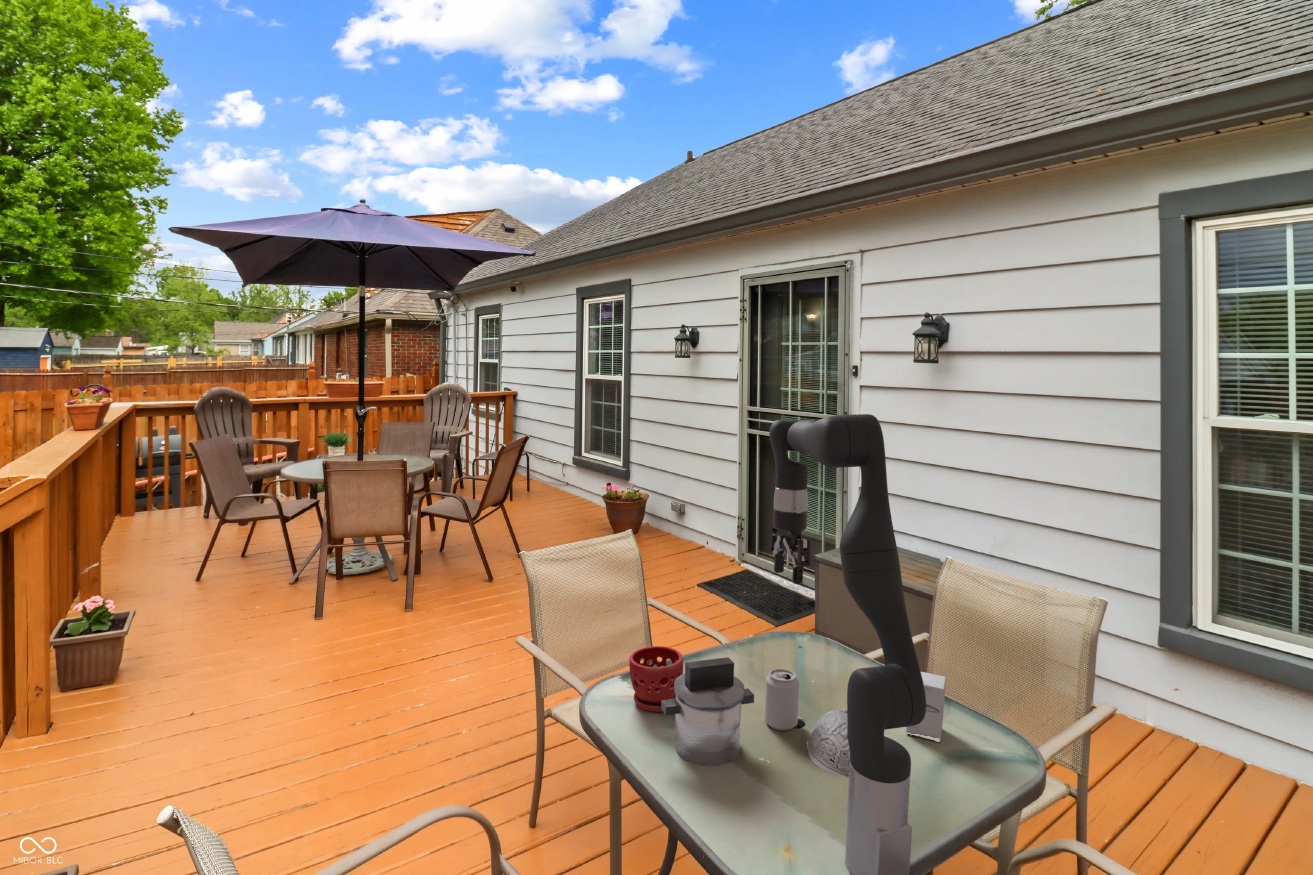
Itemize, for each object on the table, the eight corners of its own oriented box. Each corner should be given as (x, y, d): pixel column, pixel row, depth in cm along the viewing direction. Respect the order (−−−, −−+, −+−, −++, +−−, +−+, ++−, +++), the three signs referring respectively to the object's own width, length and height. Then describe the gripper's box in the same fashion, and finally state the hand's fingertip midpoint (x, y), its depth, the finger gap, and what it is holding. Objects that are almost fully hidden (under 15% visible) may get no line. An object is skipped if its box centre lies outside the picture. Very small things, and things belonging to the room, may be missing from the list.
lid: (688, 714, 127) (689, 682, 127) (664, 681, 142) (665, 652, 141) (756, 704, 132) (757, 673, 131) (726, 673, 146) (727, 645, 146)
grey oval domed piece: (801, 766, 130) (806, 735, 130) (812, 714, 154) (816, 687, 154) (881, 791, 126) (886, 758, 125) (879, 733, 149) (883, 705, 149)
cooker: (764, 756, 134) (766, 701, 133) (673, 772, 128) (674, 715, 127) (736, 722, 147) (737, 672, 146) (652, 735, 141) (653, 683, 140)
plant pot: (660, 685, 165) (661, 640, 164) (693, 706, 155) (694, 658, 154) (618, 699, 157) (619, 652, 156) (650, 722, 147) (651, 672, 146)
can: (797, 734, 143) (799, 682, 142) (763, 730, 145) (765, 678, 144) (797, 717, 150) (799, 668, 150) (764, 713, 152) (766, 664, 151)
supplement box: (905, 735, 144) (908, 680, 143) (909, 720, 150) (911, 668, 149) (940, 744, 140) (944, 688, 139) (943, 728, 147) (946, 675, 146)
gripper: (761, 502, 150) (758, 570, 152) (791, 514, 137) (788, 588, 138) (789, 501, 153) (787, 567, 154) (822, 513, 139) (819, 585, 140)
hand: (787, 577), depth 146 cm, fingers open, 8 cm apart
